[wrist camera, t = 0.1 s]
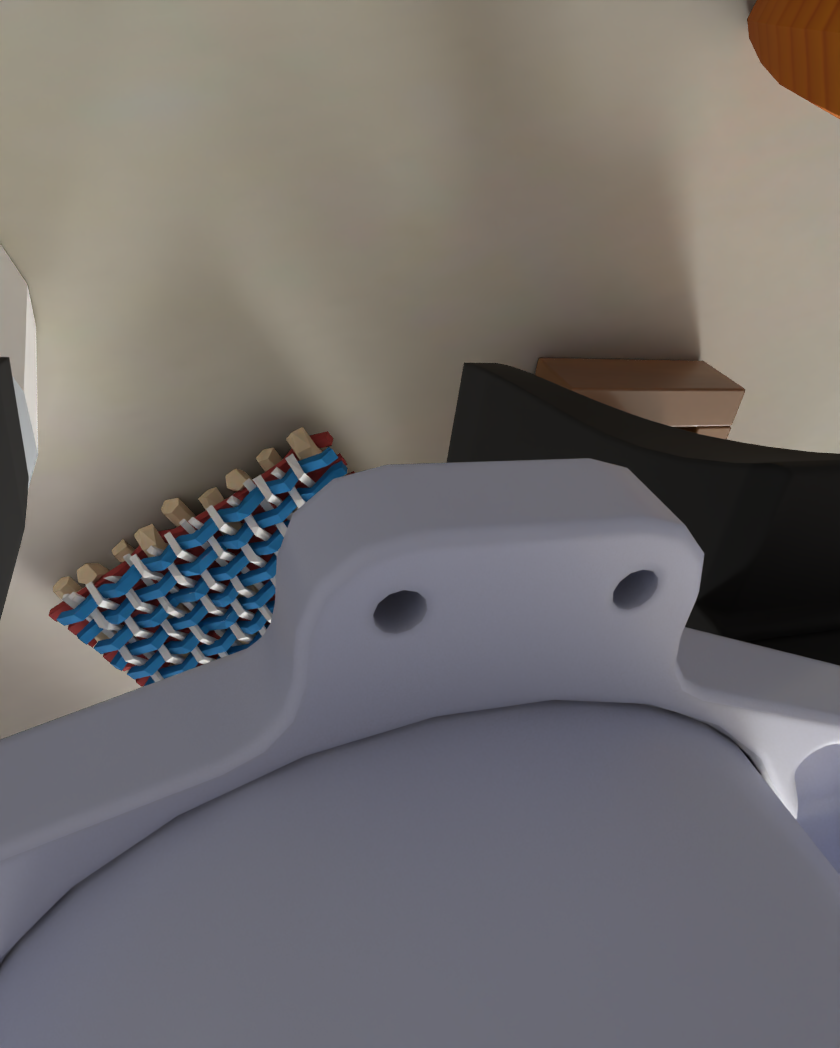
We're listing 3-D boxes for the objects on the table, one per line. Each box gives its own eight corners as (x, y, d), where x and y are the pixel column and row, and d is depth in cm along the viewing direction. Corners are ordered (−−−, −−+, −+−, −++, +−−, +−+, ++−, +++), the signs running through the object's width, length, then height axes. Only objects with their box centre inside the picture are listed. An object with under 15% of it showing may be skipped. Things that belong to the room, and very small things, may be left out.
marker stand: (584, 696, 37) (609, 737, 35) (455, 715, 35) (474, 759, 33) (703, 359, 28) (747, 389, 26) (537, 357, 25) (571, 388, 24)
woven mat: (31, 582, 25) (25, 624, 23) (311, 404, 24) (324, 434, 22) (227, 736, 31) (233, 777, 30) (451, 599, 30) (469, 633, 29)
